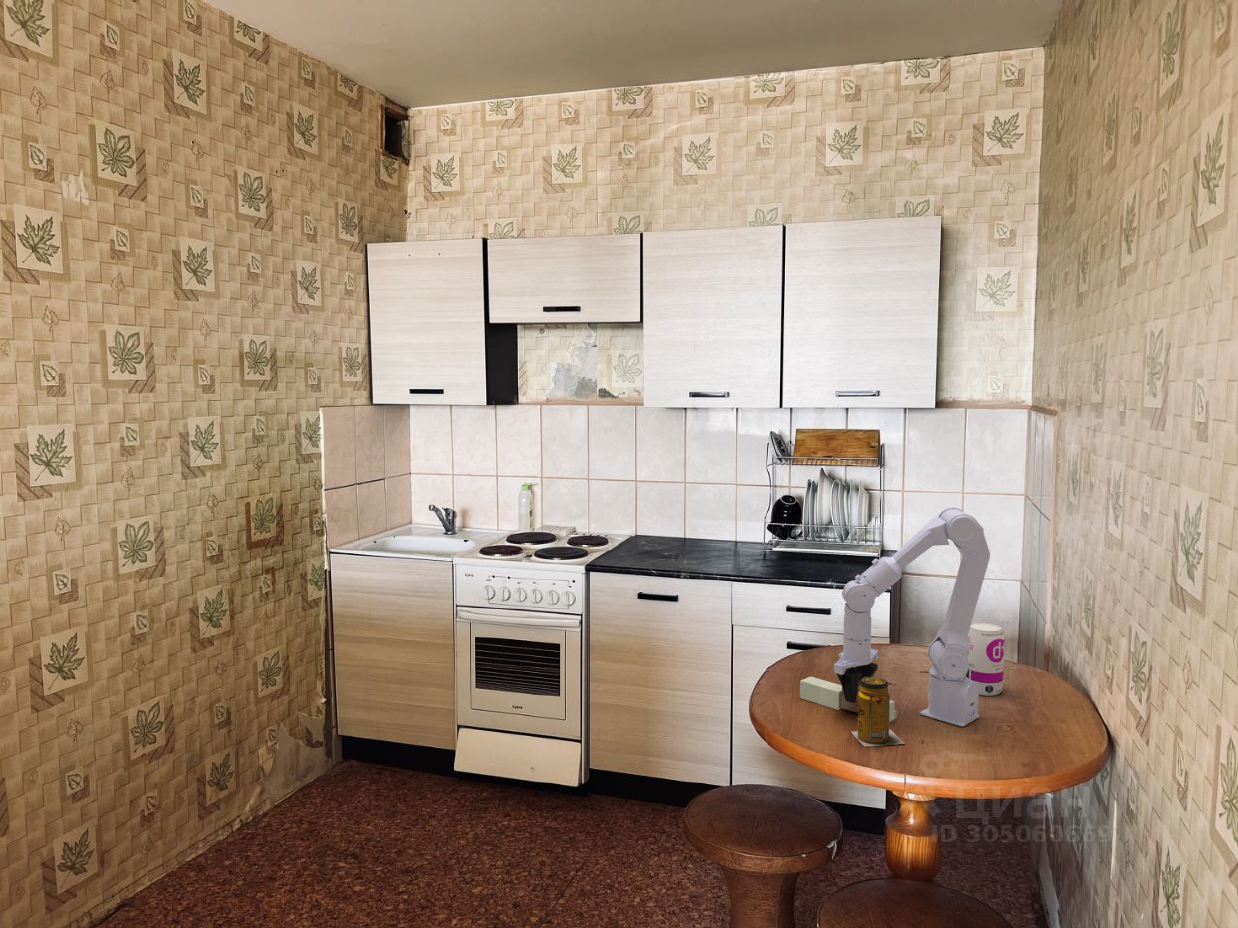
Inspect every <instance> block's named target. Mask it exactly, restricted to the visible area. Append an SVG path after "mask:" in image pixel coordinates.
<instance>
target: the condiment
mask: <svg viewBox="0 0 1238 928" xmlns="http://www.w3.org/2000/svg"><path fill="white" fill-rule="evenodd" d="M860 684H861V687H860V692H859V693H858V713H857V723H856V724H857V731H851V730H850V733H852V735H853V737H855V738H856V739H857V741H858V742H859V743H860V744H861V745H862V746H863V747H881V746H882V747H884V746H888V745H890V746H892V745H894V746H895V745H900V744H901V745H904V744H905V745H906V742H904V741H903V740H902V739H901V738H899V736H897V735H896V733H895V732H893V730H892V729H890V722H889V706H890V700H891V699H890V698H891V696H890V694H889V689H888V687H889V682H888V681H887V680H886V679H884V678H882V677H877V676H873V677H865V678H862V679H861V682H860Z"/></svg>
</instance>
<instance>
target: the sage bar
mask: <svg viewBox="0 0 1238 928" xmlns="http://www.w3.org/2000/svg"><path fill="white" fill-rule="evenodd" d="M799 698H800V699H802V700H805V701H808V702H813V703H815V704H818V705H820V706H821V705H822V706H824V707H828V708H831V709H834V710H838V711H840V710H842V709H843V708H842V685H841V684H838V683H834V682H831V681H828V680H824V679H821V678H817V677H814V676H811V675H810V676H808V677H805V678H804V679H801V680H800V682H799ZM895 704H896V701H895V700H892V699H890V706H889V723H890V722H892V721H894V720H896V719H897V717H898V716H897V715H898V712H897V711H898V710H895V708H896V707H895V706H896V705H895Z"/></svg>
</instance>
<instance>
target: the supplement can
mask: <svg viewBox="0 0 1238 928" xmlns="http://www.w3.org/2000/svg"><path fill="white" fill-rule="evenodd" d="M1005 639H1006V635H1005V633H1004V630H1003V627H1002V626H1000V625H998V624H997V623H996V624H994V623H990V622H980V621H979V622H971V626H970V630H969V633H968V643H969V651H968V662H969V669H968V671H967V673H966V677H967V678H968V679H970V680H972V681H975V682H976V683H977V684H978V689H979V696H986V697H987V696H988V697H989V696H990V697H991V696H997V695H1000V693H1001V692H1003V691H1004V668H1005V667H1004V665H1005V644H1006V643H1005V641H1006V640H1005Z"/></svg>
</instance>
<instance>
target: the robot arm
mask: <svg viewBox="0 0 1238 928" xmlns="http://www.w3.org/2000/svg"><path fill="white" fill-rule="evenodd" d="M949 540H950V541H951V542H952V543H953V544H954V546H955V547H956V549H957V551H958V552H959V553H960V555H961V560H960V564H959V566H958V567H959V568H958V571H957V575H956V578H955V582H954V586H953V590H952V593H951V595H950V599H949V604H948V607H947V610H946V614H945V618H944V622H943V625H942V626H941V627H940V629H939V630H938V631H937V634H936V637H935V638H934V640H932V641H931V643H929V645H928V649H927V655H928V658H929V660H930V661H931V662H932V664H931V667H930V668H929V675H928V676H929V677H928V678H929V679H928V684H929V685H928V707H926V708H925V709H923V710H922V711H920V712H919V714H920V715H921V716H925V717H928V718H932V719H935V720H938V721H942V722H944V723H948V724H952V725H955V726H959V727H962V728H963V727H966V726H967V725H968V724H970V723H971V722H973V721H975V720H976V719H978V718H979V717H980V714H979V696H980V695H979V689H978V684H977V683H976V682H975V681H972V680H970V679H968V678H967V677H966V673H967V671H968V669H969V662H968V651H969V643H968V633H969V630H970V626H971V623H973V618H974V615H975V611H976V608H977V605H978V600H979V597H980V593H981V590H982V587H983V583H984V579H985V577H986V572H987V569H988V565H989V563H990V559H991V553H990V549H989V546H988V542H987V540H986V537H985V533H984V527H983V526H982V525H981V524H980V523H979V521H978V520H977V519H976V518H975V517H974V516H972V515H970V514H967V513H966V512H964V511H963V510H962V509H961V508H957V507H948V508H945V509H943V510H942V511H941V512H940V513H939V514H938V515H935V516H934V517H932V518H931V519H930V520H928V522H927V523H926V524H925V525H924V526H923V527H922V528H921V529H920V530H919V531H918V532H916V534H914V535H913V536H912V537H911V538H910V539H909V540H907V542H906V543H905V544H904V545H903V546H901V548H899V549H898V550H897V551H896V552H895V553H894V554H893V555H891V556H882V557H880V558H879V559H878V558H874V559H873V560H872V561H871V563H872V565H871V566H870V567H869V568H867V569H866V570H865V571H864V572H862V574H857V575H856V576H854V578H855V579H854V580H851V581H848V582H847V583H846V584H845V585H844V587H843V590H842V591H841V596H842V599H843V600H844V602H845V603H844V609H843V613H844V615H843V631H842V632H843V640H842V641H843V643H842V644H843V648H842V650H843V651H842V652H840V653H838V657H839V660H837V662H835V663H834V664H833V674H836V677H837V678H838V680H839V682H840V685H841V686H842V689H843V693H844V697H845V701H849V702H852V703H854V702H855V701H856V696H857V688H858V684H859V681H860V679H862V678H865V677H874V675H875V674H876V672H877V670H878V669H879V668H878V667H879V666H878V664H877V663H875V662H873V660H874V661H878V659H879V654H880V653H879V650H877V649H873V648H872V616H871V615H872V614H871V613H872V612H871V611H872V608H873V607H874V605H875V602H876V601H875V600H876V598H878V597H880V596H881V595H882V594H883V593H885V592H886V591H887V590H888V589H890V588H891V587H892V586H893V585H894V584H895V583H897V582H898V581H899V580H900V579H902V575H903V573H902V572H903V569H904V568H906V567H907V566H909V564H911V563H913V561H915V560H916V559H917V558H918V557H920V556H921V555H922V554H924V553H925V552H927V551H928V550H930V548H932V547H934V546H949V545H950V542H949Z"/></svg>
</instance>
